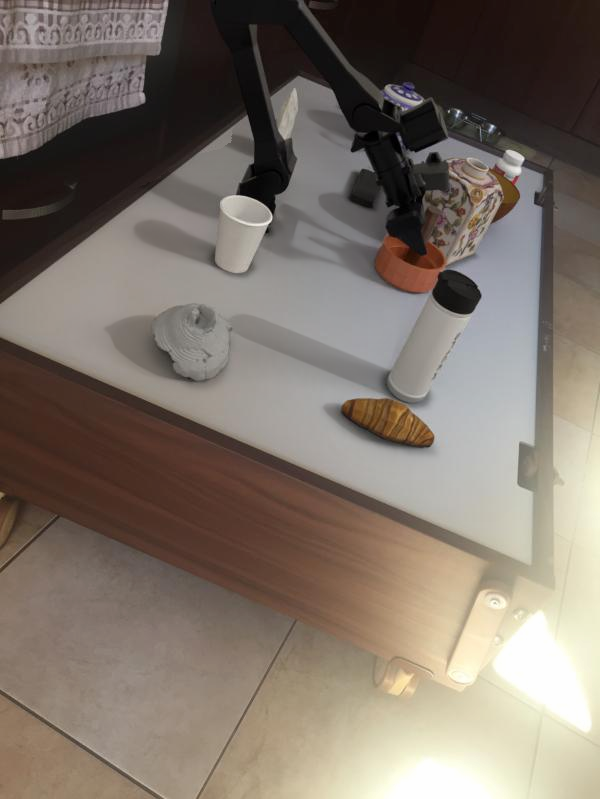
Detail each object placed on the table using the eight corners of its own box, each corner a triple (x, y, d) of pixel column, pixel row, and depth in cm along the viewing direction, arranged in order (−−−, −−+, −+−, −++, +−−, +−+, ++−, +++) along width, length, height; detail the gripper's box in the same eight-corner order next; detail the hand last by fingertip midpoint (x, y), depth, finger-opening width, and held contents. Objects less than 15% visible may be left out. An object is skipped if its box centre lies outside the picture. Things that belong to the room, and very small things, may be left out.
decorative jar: (399, 234, 145) (437, 151, 133) (430, 224, 153) (468, 144, 141) (445, 268, 141) (488, 184, 129) (475, 255, 148) (518, 175, 137)
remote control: (370, 211, 150) (380, 180, 161) (373, 203, 149) (383, 173, 160) (348, 202, 150) (359, 172, 161) (350, 194, 149) (362, 165, 160)
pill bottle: (489, 203, 170) (512, 160, 163) (476, 189, 174) (497, 146, 167) (509, 205, 173) (532, 162, 166) (495, 191, 177) (518, 149, 170)
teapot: (407, 173, 169) (434, 111, 159) (346, 148, 168) (369, 84, 159) (420, 138, 188) (445, 81, 178) (365, 115, 188) (387, 56, 178)
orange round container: (382, 291, 128) (394, 265, 124) (365, 252, 136) (376, 226, 132) (442, 299, 132) (455, 274, 128) (422, 261, 140) (434, 237, 136)
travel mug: (380, 371, 110) (435, 261, 98) (420, 378, 112) (479, 271, 99) (387, 399, 106) (445, 288, 93) (428, 406, 108) (491, 299, 95)
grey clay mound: (234, 393, 101) (258, 353, 92) (149, 391, 96) (166, 348, 88) (223, 321, 106) (245, 276, 98) (142, 315, 101) (157, 268, 93)
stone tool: (272, 166, 150) (293, 95, 140) (259, 159, 150) (280, 88, 141) (289, 155, 156) (310, 86, 147) (277, 148, 157) (297, 79, 147)
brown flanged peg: (411, 282, 131) (441, 219, 123) (390, 270, 132) (419, 207, 124) (419, 273, 134) (449, 211, 126) (398, 261, 135) (427, 200, 127)
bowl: (481, 254, 150) (505, 211, 143) (409, 212, 154) (429, 169, 147) (507, 229, 163) (530, 189, 156) (440, 191, 167) (459, 151, 160)
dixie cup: (234, 244, 124) (249, 191, 118) (266, 271, 121) (283, 219, 114) (196, 253, 118) (209, 198, 112) (228, 282, 115) (244, 228, 109)
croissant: (334, 428, 98) (347, 402, 95) (343, 397, 103) (355, 372, 100) (427, 464, 98) (443, 440, 95) (431, 432, 104) (446, 408, 100)
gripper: (436, 166, 111) (471, 251, 119) (435, 123, 125) (466, 201, 133) (368, 194, 115) (406, 274, 123) (375, 149, 129) (409, 224, 137)
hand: (424, 242), depth 129 cm, fingers open, 9 cm apart
